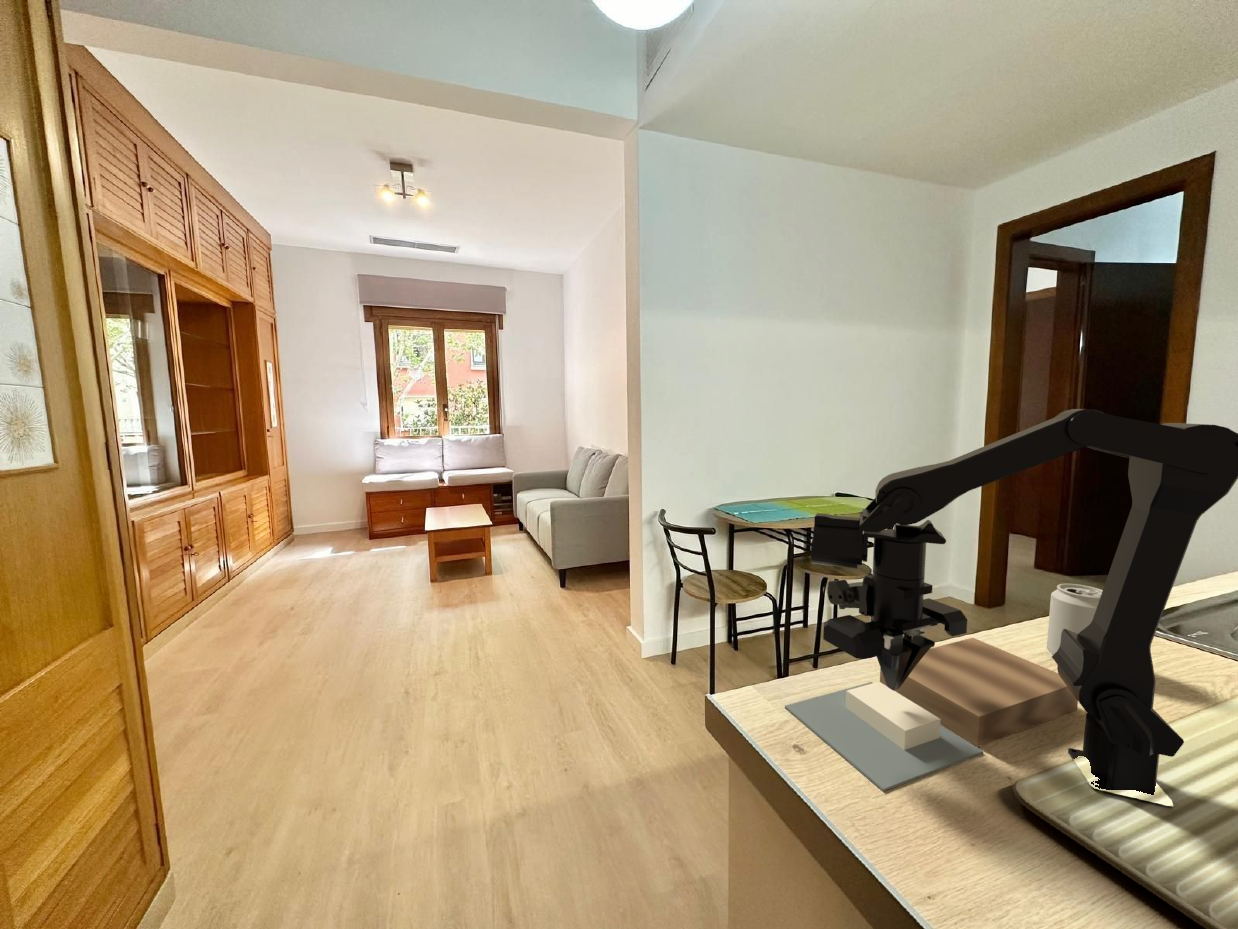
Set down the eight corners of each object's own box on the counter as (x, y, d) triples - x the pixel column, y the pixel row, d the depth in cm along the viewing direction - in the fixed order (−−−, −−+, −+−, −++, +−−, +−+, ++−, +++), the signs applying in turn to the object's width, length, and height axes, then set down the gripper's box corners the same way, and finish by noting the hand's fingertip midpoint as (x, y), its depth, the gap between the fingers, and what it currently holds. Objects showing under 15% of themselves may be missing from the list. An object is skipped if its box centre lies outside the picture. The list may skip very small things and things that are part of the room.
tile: (846, 690, 66) (845, 707, 66) (905, 730, 58) (904, 750, 58) (879, 681, 68) (878, 698, 68) (940, 719, 60) (939, 737, 60)
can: (1045, 644, 84) (1050, 577, 82) (1105, 657, 79) (1112, 587, 77) (1047, 662, 78) (1053, 590, 76) (1113, 677, 73) (1120, 601, 72)
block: (971, 660, 78) (972, 637, 78) (1077, 710, 65) (1079, 682, 65) (879, 686, 72) (880, 661, 71) (977, 747, 59) (979, 716, 58)
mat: (871, 683, 72) (871, 682, 72) (982, 753, 57) (983, 751, 57) (784, 707, 67) (784, 705, 67) (883, 791, 52) (883, 789, 52)
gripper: (896, 548, 72) (891, 647, 73) (794, 563, 65) (792, 672, 67) (973, 570, 61) (966, 686, 63) (861, 591, 55) (856, 719, 56)
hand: (892, 688), depth 63 cm, fingers closed
